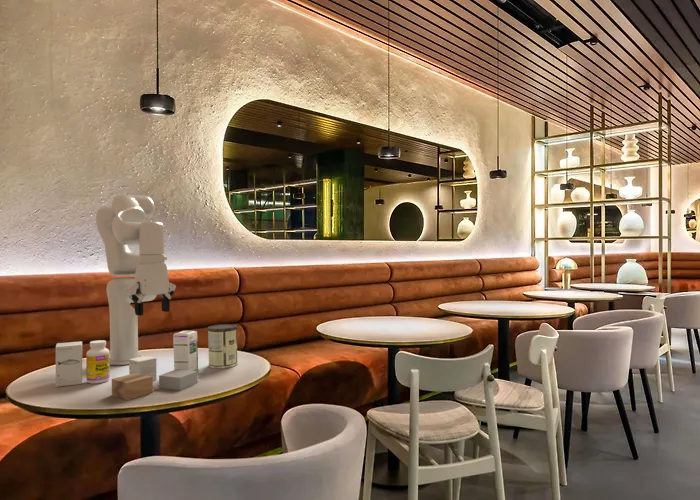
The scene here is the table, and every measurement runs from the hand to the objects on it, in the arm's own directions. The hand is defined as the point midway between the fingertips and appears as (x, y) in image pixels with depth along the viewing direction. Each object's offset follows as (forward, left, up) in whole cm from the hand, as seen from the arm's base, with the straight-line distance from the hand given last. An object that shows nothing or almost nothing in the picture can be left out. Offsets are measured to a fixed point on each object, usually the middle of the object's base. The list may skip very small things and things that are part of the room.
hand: (152, 313), depth 157 cm
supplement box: (-21, -16, -22) cm, 34 cm away
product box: (-3, -2, -22) cm, 22 cm away
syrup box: (+3, +10, -22) cm, 24 cm away
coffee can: (+3, +26, -22) cm, 34 cm away
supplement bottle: (-15, -10, -22) cm, 28 cm away
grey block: (+11, +1, -22) cm, 25 cm away
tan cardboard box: (+7, -12, -22) cm, 26 cm away
